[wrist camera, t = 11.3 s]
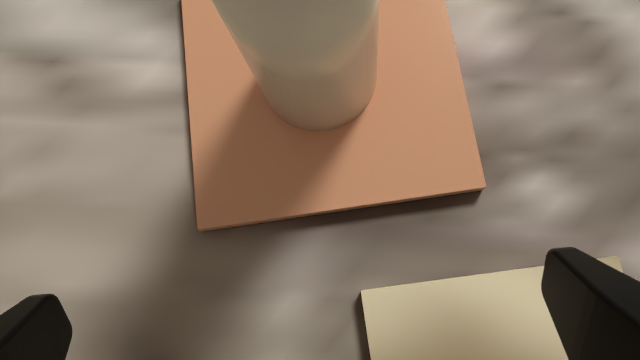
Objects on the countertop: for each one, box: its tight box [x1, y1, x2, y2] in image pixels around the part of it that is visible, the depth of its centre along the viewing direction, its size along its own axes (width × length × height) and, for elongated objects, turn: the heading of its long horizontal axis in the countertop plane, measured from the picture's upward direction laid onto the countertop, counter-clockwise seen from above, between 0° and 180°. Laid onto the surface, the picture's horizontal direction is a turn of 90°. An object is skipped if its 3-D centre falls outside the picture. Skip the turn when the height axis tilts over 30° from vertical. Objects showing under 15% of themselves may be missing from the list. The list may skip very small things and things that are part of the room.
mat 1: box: [181, 0, 486, 231], centre depth 19 cm, size 11×11×1 cm
